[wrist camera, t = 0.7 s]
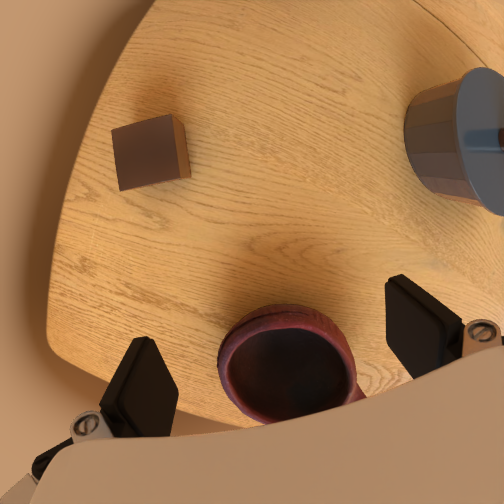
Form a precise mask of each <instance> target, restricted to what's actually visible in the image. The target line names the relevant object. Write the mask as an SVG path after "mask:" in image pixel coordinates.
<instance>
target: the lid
mask: <svg viewBox="0 0 504 504" xmlns="http://www.w3.org/2000/svg"><path fill="white" fill-rule="evenodd" d="M452 125H453V135H454V141H455V147H456V152H457V156H458V160H459V163H460V166H461V170H462V172H463V175H464V178H465V180H466V182H467V184H468V186H469V188H470V190H471V192H472V193H473V195H474V197H475V198H476V199H477V201H478V202H479V203H480V204H481V205H482V206H483V207H484V208H485V209H486V210H487V211H489V212H491V213H493V214H495V215H499V216H504V77H503V76H502V75H501V74H499V73H498V72H496V71H494V70H492V69H489V68H485V67H479V68H474V69H471V70H469V71H467V72H466V73H465V74H464V75H463V76H462V78H461V79H460V80H459V82H458V85H457V87H456V90H455V94H454V99H453V108H452Z"/></svg>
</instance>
